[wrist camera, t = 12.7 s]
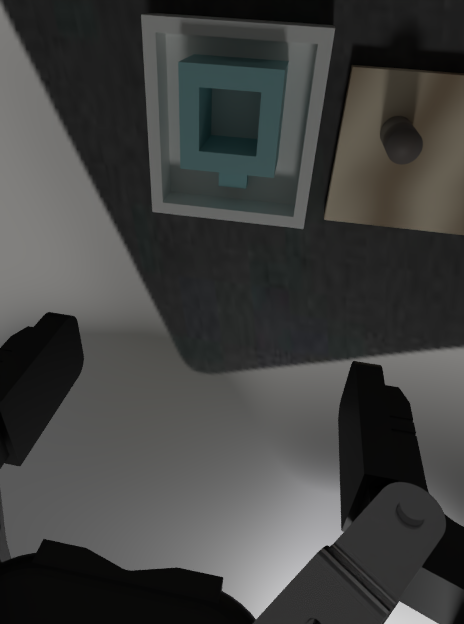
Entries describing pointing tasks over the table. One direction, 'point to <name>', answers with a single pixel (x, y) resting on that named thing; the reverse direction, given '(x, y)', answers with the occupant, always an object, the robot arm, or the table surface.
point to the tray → (235, 114)
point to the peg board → (392, 181)
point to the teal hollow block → (198, 109)
